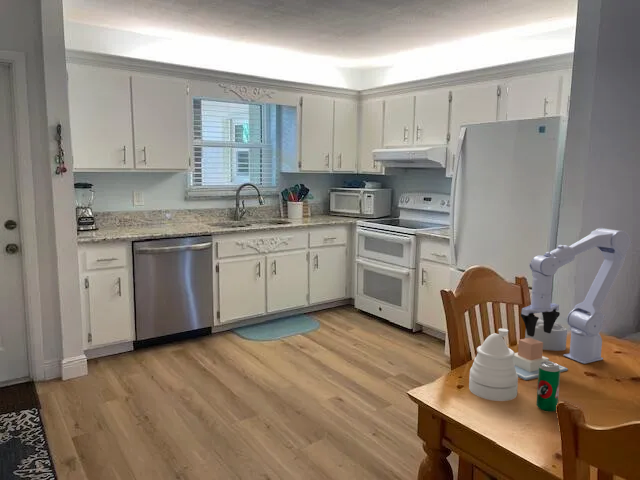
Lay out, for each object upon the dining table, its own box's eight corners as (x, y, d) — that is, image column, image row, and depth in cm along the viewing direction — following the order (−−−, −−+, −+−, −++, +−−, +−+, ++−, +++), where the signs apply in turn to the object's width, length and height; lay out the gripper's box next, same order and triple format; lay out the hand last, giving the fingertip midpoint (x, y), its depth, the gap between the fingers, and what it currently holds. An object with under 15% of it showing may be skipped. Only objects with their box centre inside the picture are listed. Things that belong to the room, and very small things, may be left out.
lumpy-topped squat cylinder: (532, 337, 184) (533, 315, 182) (569, 345, 175) (571, 322, 174) (522, 344, 176) (523, 321, 175) (560, 353, 167) (562, 329, 166)
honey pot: (515, 384, 142) (519, 324, 140) (518, 404, 130) (522, 339, 128) (469, 378, 146) (472, 320, 144) (468, 396, 134) (470, 333, 132)
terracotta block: (529, 352, 158) (530, 337, 157) (542, 357, 153) (543, 342, 153) (517, 354, 156) (518, 339, 155) (530, 360, 151) (531, 344, 150)
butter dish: (531, 355, 165) (531, 345, 165) (567, 370, 153) (568, 359, 152) (491, 363, 158) (491, 353, 157) (525, 380, 145) (526, 368, 145)
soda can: (559, 413, 125) (563, 369, 123) (538, 411, 126) (541, 367, 124) (554, 404, 130) (557, 361, 128) (534, 402, 131) (537, 360, 129)
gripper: (535, 298, 150) (532, 341, 151) (568, 293, 156) (565, 334, 158) (517, 293, 156) (515, 334, 158) (549, 288, 162) (546, 328, 164)
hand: (538, 334), depth 158 cm, fingers open, 7 cm apart
